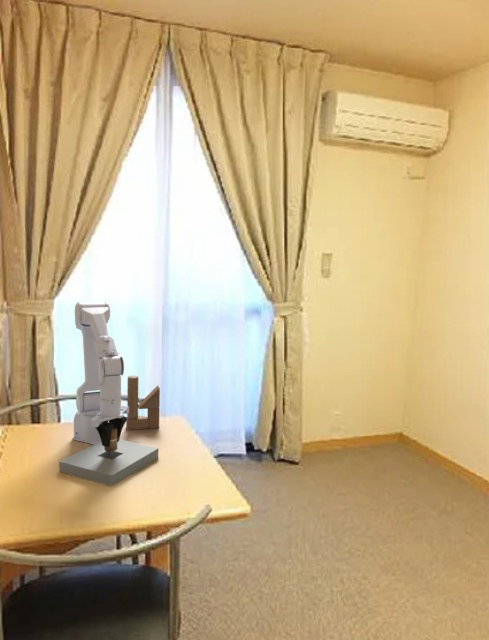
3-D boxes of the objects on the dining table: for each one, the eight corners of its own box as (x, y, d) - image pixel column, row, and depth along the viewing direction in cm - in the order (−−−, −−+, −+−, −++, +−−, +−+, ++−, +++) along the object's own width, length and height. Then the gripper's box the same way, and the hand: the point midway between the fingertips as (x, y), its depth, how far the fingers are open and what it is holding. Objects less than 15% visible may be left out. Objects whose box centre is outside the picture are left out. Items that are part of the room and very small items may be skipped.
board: (59, 471, 164) (59, 461, 163) (109, 446, 183) (109, 436, 183) (111, 486, 156) (111, 475, 156) (158, 457, 176) (158, 448, 175)
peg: (101, 449, 168) (101, 429, 167) (109, 445, 171) (109, 426, 170) (111, 452, 167) (111, 432, 166) (119, 448, 170) (120, 428, 169)
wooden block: (159, 428, 201) (160, 377, 198) (127, 430, 197) (127, 378, 194) (157, 424, 204) (158, 374, 201) (126, 426, 201) (126, 375, 198)
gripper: (105, 406, 158) (105, 454, 161) (137, 393, 171) (137, 438, 174) (84, 402, 161) (85, 449, 164) (117, 390, 174) (117, 433, 177)
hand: (110, 443), depth 169 cm, fingers closed on peg, 4 cm apart
